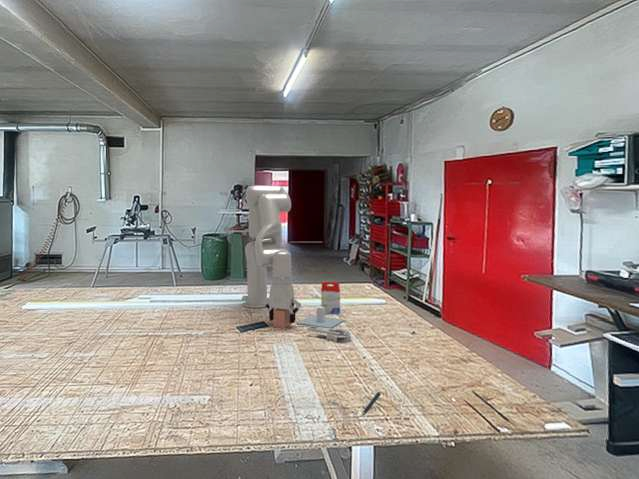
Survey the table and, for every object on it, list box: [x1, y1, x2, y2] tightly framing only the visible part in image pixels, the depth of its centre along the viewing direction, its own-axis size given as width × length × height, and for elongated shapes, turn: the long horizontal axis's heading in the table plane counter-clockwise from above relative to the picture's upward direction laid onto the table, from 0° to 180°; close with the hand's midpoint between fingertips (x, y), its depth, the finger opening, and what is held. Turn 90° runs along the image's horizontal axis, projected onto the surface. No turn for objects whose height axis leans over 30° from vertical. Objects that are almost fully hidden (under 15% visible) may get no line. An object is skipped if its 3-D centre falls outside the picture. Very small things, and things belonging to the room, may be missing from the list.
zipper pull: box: [306, 326, 352, 344], centre depth 188 cm, size 8×18×4 cm, turn 60°
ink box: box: [320, 281, 341, 315], centre depth 227 cm, size 8×5×15 cm, turn 84°
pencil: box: [361, 391, 381, 417], centre depth 129 cm, size 1×1×15 cm
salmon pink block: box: [273, 308, 292, 329], centre depth 204 cm, size 5×5×7 cm
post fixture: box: [296, 306, 345, 329], centre depth 210 cm, size 16×14×7 cm
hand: (282, 321), depth 205 cm, fingers open, 9 cm apart
